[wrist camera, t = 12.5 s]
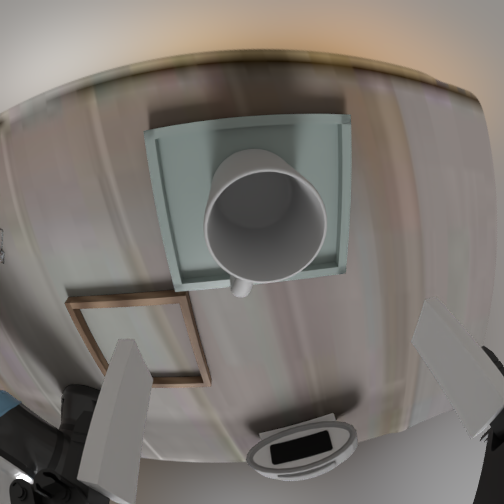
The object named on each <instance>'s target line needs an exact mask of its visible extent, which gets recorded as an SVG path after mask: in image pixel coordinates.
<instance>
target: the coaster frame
mask: <svg viewBox="0 0 504 504" xmlns="http://www.w3.org/2000/svg"><path fill="white" fill-rule="evenodd" d="M176 303H180V307H181V311H182V314H183V318H184V321H185V325H186V328H187V332H188V335H189V338H190V342H191V345H192V348H193V351H194V355H195V358H196V361H197V364H198V367H199V370H200V373H201V376H194V377H152V378H153V384H152V388H186V387H211V380H212V379H211V376H210V373H209V369H208V366H207V362H206V359H205V355H204V352H203V348H202V345H201V341H200V337H199V334H198V330H197V326H196V322H195V318H194V314H193V311H192V306H191V302H190V298H189V294H188V291H181V292H175V290H167V291H154V292H141V293H128V294H113V295H97V296H80V297H68V299H67V300H66V302H65V305H66V308H67V310H68V312H69V314H70V316H71V318H72V320H73V322H74V324H75V326H76V328H77V330H78V332H79V333H80V335H81V337H82V339H83V341H84V343H85V345H86V346H87V348H88V350H89V352H90V353H91V355H92V357H93V358H94V360H95V362H96V363H97V365H98V367H99V368H100V370H101V372H102V373H103V375H104V376H105V375H106V373H107V370H108V367H109V365H108V363H107V361H106V360H105V358H104V356H103V354H102V353H101V351H100V349H99V347H98V345H97V343H96V342H95V340H94V338H93V336H92V334H91V332H90V330H89V328H88V326H87V324H86V322H85V320H84V318H83V316H82V313H81V311H80V309H86V308H111V307H130V306H147V305H162V304H176Z"/></svg>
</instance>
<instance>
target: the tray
mask: <svg viewBox="0 0 504 504" xmlns="http://www.w3.org/2000/svg"><path fill="white" fill-rule="evenodd" d="M144 138H145V145H146V152H147V159H148V165H149V171H150V177H151V183H152V189H153V194H154V200H155V205H156V210H157V215H158V220H159V225H160V230H161V235H162V239H163V244H164V248H165V253H166V257H167V261H168V265H169V269H170V273H171V277H172V281H173V285H174V289H175V292H181V291H192V290H203V289H214V288H224V287H230V274H229V273H228V272H226V271H225V270H224V269H222V268H221V267H220V266H219V265H218V264H217V262H216V261H215V260H214V259H213V257H212V256H211V254H210V252H209V250H208V248H207V245H206V242H205V238H204V231H203V222H204V215H205V210H206V206H207V201H208V197H209V193H210V189H211V183H212V179H213V176H214V174H215V172H216V170H217V169H218V167H219V166H220V164H221V163H222V162H223V161H224V160H225V159H226V158H228V157H229V156H231V155H232V154H234V153H236V152H238V151H241V150H245V149H263V150H267V151H270V152H272V153H274V154H276V155H278V156H279V157H281V158H282V159H283V160H284V161H285V162H286V163H287V164H289V165H290V166H291V167H292V168H294V169H295V170H296V171H297V172H299V173H300V174H301V175H302V176H304V177H305V178H306V179H307V180H308V181H309V182H310V183H311V184H312V185H313V186H314V187H315V189H316V190H317V191H318V193H319V195H320V196H321V198H322V200H323V203H324V205H325V209H326V213H327V231H326V237H325V240H324V243H323V245H322V247H321V249H320V251H319V253H318V254H317V256H316V257H315V258H314V260H313V261H312V262H311V263H310V264H309V265H308V266H307V267H306V268H304V269H303V270H302V271H301V272H299V273H297V274H296V275H294V276H292V277H290V278H287V279H284V280H281V281H289V280H297V279H305V278H313V277H321V276H329V275H337V274H344V273H346V263H347V252H348V239H349V223H350V203H351V115H345V114H279V115H260V116H246V117H234V118H224V119H215V120H207V121H200V122H192V123H186V124H179V125H173V126H168V127H162V128H157V129H152V130H147V131H144ZM277 282H280V281H277ZM253 284H263V283H254V282H253Z"/></svg>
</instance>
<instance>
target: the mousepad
mask: <svg viewBox="0 0 504 504" xmlns="http://www.w3.org/2000/svg"><path fill="white" fill-rule="evenodd" d="M0 230H1V231H2V241H3V230H2V229H0ZM0 262H1V263H3V264H4V252H3V251H2V245H1V251H0Z"/></svg>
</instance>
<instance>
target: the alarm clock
mask: <svg viewBox="0 0 504 504" xmlns="http://www.w3.org/2000/svg"><path fill="white" fill-rule="evenodd" d="M259 436H260V438H261V440H262V441H260V442H259V443H258V444H256V445H255V446H254V447H252V448H251V450H250V451H249V452H248V454H247V458H246V461H247V463H248V465H249V466H251V467H252V468H253V469H254V470H256V471H257V472H259V473H260V474H262V475H263V476H266V477H269V478H273V479H281V480H282V481H297V480H305V479H310V478H313V477H316V476H319V475H321V474H324V473H326V472H328V471H330V470H332V469H334V468H335V467H336V466H337V465H338V464H340V463H342V462H343V461H345V460H346V459H347V458H348V457H349V456H350V455H351V454H352V453H353V452H354V450H355V449H356V447H357V445H358V439H357V432H356V429H355V428H354V427H353V426H352V425H350V424H348V423H346V422H338V421H336V419H335V416H334V413H331V414H328V415H325V416H322V417H319V418H315V419H312V420H309V421H305V422H302V423H299V424H295V425H291V426H288V427H284V428H280V429H276V430H272V431H267V432H263V433H259Z"/></svg>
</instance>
